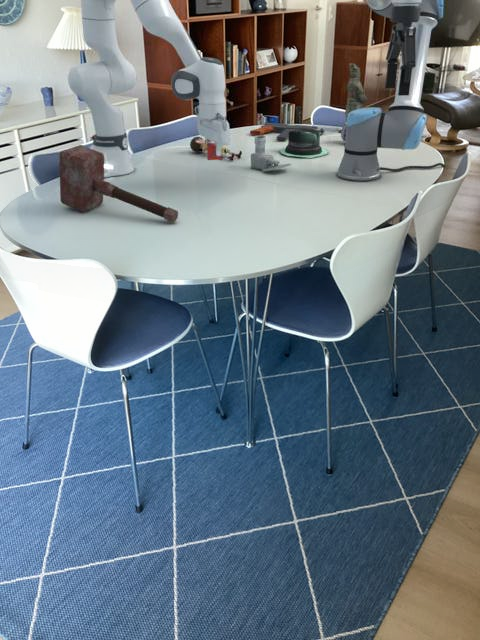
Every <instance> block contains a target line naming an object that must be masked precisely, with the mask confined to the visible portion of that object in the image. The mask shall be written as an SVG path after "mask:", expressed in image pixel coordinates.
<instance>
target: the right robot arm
mask: <svg viewBox="0 0 480 640" xmlns="http://www.w3.org/2000/svg"><path fill="white" fill-rule="evenodd" d="M365 2H366V4H367V6H368V8H370V10H372V11H373V12H374V13H376V14H378V15H379V16H382V17H385V18H387V19H389V21H390V22H391V23H394V24H392V26H391V34H390V39H389V44H388V46H387V47H388V48H387V52H386V56H385V60H386V61H387V66H386V67H387V68H386V77H385V87H384V88H385V89H395V95H394V102H393V103H391V105H390V106H389V107H388V111H387V112H383V110H382V108H381V107H375V106H373V107H371V106H370V107H363V108H362V109H357V110H354V111H351V112H350V113H349V114H348V116H347V123H346V122H345V123H346V136H345V141H344V151H343V156H342V157H341V161H340V163H339V167H338V169H337V177H339V178H341V179H343V180H346V181H347V180H348V181H354V182H369V181H374V180H377V179H379V178H381V177H380V176H381V171H388V172H400V171H403V170H408V169H425V170H426V169H428V170H429V169H433V168H434V169H435V168H436V167H440V166H441V167H442V168H446V167H447V166H446V165H445V164H444V163H443V162H438V163H434V164H432V165H406V166H402V167H397V168H389V167H383V166H380V164H379V159H378V149H392V150H393V149H395V150H397V149H398V150H403V151H405V150H416V149H417V148H418V147H419V146H420V143H421V141H422V137H423V135H424V131H425V127H426V122H427V119H428V115H427V114H425V113H424V110H425V109H424V107H423V106H422V105H421V99H422V93H423V86H424V81H425V74H426V69H427V68H426V67H427V61H428V55H429V48H430V41H431V35H432V34H431V33H432V30H433V29H434V28H435V27H436V26H437V25H438V21H439V20H440V19H443V17H444V0H365ZM395 23H396V24H395ZM399 57H400V59H399ZM398 65H399V66H398ZM398 67H399V68H398Z"/></svg>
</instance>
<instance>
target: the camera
mask: <svg viewBox="0 0 480 640" xmlns="http://www.w3.org/2000/svg"><path fill="white" fill-rule="evenodd" d="M266 144H267V136H266V135H263V134H262V135H259V136H256V135H254V145H255V146H254V153H251V154H250V168H252V169H257V170H261V171H262V172H263V173H265V172H273V171H278V170H281V169H284V168H287V167H290V166H291V165H292V163H284V164H283V163H282V164H281V163H280V160H277V159H274V156H273V155H270V154H268V153H267V154H266Z"/></svg>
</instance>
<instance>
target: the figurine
mask: <svg viewBox="0 0 480 640" xmlns="http://www.w3.org/2000/svg"><path fill="white" fill-rule="evenodd" d="M189 146H190V149H191V150H192V152H194V153H205V152H207V144H206V140H205V139H203V137H202V136H195V137H193V138H192V139H191V140H190V143H189ZM228 154H229V155H228ZM242 154H243V151H242V150H239V153H235V152H233V151H231V150H230V149H228V148H227V147H222V158H225V159H228V160H229V161H231V162H233V161H234V158H237V159H241V158H242Z"/></svg>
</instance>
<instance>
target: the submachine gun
mask: <svg viewBox="0 0 480 640" xmlns="http://www.w3.org/2000/svg"><path fill="white" fill-rule="evenodd" d="M298 128H311V129H316V130H318V131H319V132H320V136H322V135H323V134H324V133H325V130H324V128H319V127H318V126H315V125H313V126H312V125H304V124H303V125H302V124H291V123H278V122H264V124H262V125H261V126H260V127H259V128H256V129H252V130H250V131H249V134H250V135H251V136H259V135H262V136H263V135H265V134H268V133H278V135H277V136H276V141H287V140H288V139H289V131H291V130H294V129H298ZM318 128H319V129H318Z"/></svg>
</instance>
